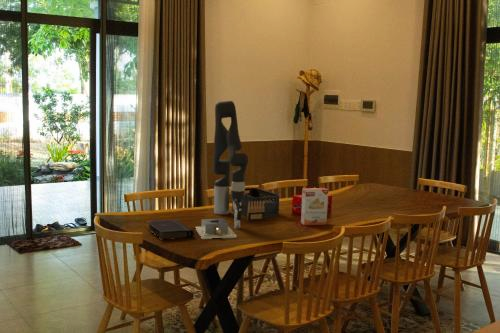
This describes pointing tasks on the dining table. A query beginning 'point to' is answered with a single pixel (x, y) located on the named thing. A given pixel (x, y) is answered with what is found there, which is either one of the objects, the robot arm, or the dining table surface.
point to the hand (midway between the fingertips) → (237, 218)
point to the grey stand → (215, 229)
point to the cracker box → (314, 206)
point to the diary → (170, 229)
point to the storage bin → (269, 208)
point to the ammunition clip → (256, 211)
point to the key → (236, 222)
